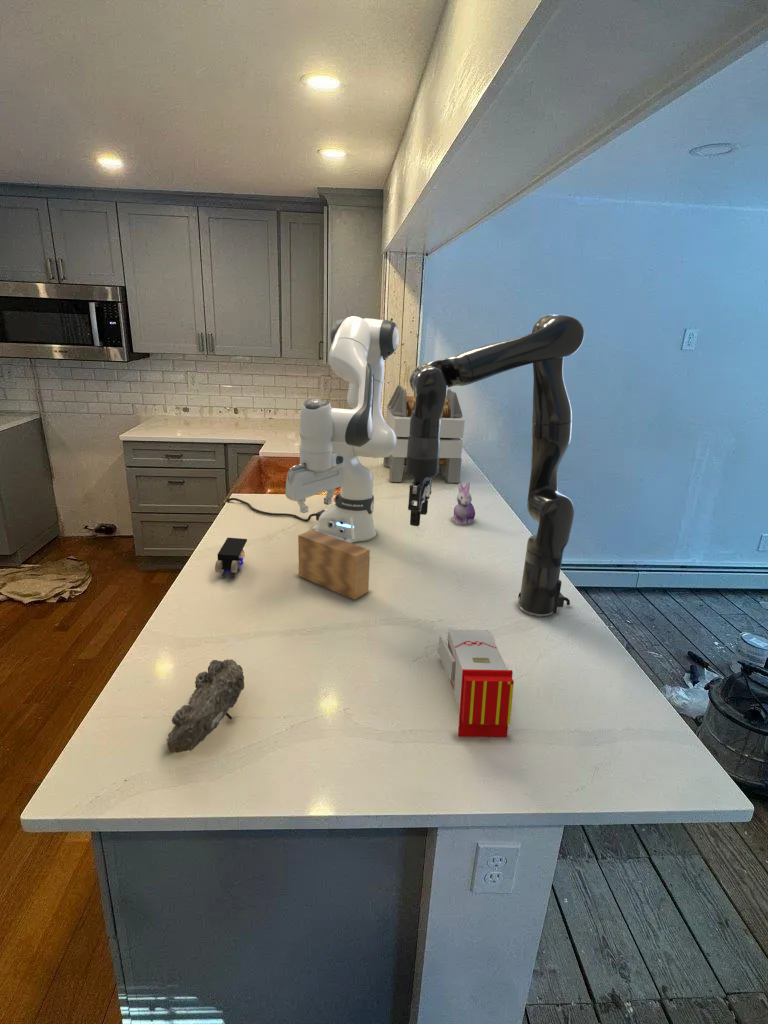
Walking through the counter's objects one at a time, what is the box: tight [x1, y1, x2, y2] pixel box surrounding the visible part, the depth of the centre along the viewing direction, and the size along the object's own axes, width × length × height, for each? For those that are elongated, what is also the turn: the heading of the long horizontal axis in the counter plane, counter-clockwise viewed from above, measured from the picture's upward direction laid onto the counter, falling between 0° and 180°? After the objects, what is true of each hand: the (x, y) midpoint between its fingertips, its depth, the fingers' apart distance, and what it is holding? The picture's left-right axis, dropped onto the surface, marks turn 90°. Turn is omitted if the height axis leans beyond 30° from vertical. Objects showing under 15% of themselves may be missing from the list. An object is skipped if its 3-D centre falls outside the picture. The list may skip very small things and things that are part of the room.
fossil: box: [166, 658, 245, 754], centre depth 106 cm, size 22×10×15 cm
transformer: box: [383, 384, 465, 484], centre depth 268 cm, size 34×33×41 cm
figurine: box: [452, 481, 476, 526], centre depth 212 cm, size 9×10×15 cm
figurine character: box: [214, 537, 248, 578], centre depth 166 cm, size 7×8×15 cm
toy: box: [437, 628, 515, 738], centre depth 117 cm, size 12×13×30 cm
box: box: [297, 529, 371, 601], centre depth 160 cm, size 21×6×13 cm, turn 53°
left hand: (316, 508), depth 158 cm, fingers open, 8 cm apart
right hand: (418, 519), depth 137 cm, fingers open, 8 cm apart
